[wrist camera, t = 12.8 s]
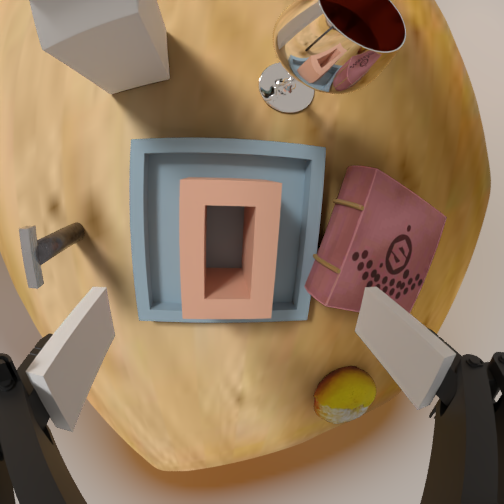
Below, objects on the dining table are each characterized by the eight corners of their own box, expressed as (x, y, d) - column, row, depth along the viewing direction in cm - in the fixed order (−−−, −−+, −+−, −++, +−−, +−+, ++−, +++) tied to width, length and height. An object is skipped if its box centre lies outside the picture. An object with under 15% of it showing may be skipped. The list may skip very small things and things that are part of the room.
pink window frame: (256, 299, 33) (269, 336, 25) (189, 299, 32) (183, 337, 24) (264, 179, 29) (282, 183, 21) (189, 177, 28) (179, 179, 20)
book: (341, 163, 28) (370, 164, 23) (420, 210, 33) (446, 217, 29) (297, 285, 31) (318, 305, 26) (384, 304, 36) (406, 319, 31)
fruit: (293, 403, 40) (316, 429, 32) (329, 351, 41) (358, 369, 33) (336, 417, 42) (361, 439, 35) (368, 371, 44) (396, 388, 36)
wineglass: (238, 101, 27) (271, 19, 9) (267, 45, 25) (321, -51, 8) (305, 132, 28) (406, 100, 11) (330, 76, 27) (428, 17, 10)
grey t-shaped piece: (68, 209, 27) (15, 229, 17) (82, 208, 27) (32, 228, 17) (71, 253, 29) (25, 287, 18) (86, 253, 29) (41, 289, 19)
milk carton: (170, 79, 25) (122, -21, 7) (110, 95, 24) (11, 32, 6) (166, 30, 23) (132, -78, 5) (109, 45, 22) (34, -36, 4)
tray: (137, 141, 26) (131, 139, 24) (317, 148, 29) (325, 147, 27) (143, 310, 32) (139, 320, 30) (301, 310, 35) (307, 319, 32)
